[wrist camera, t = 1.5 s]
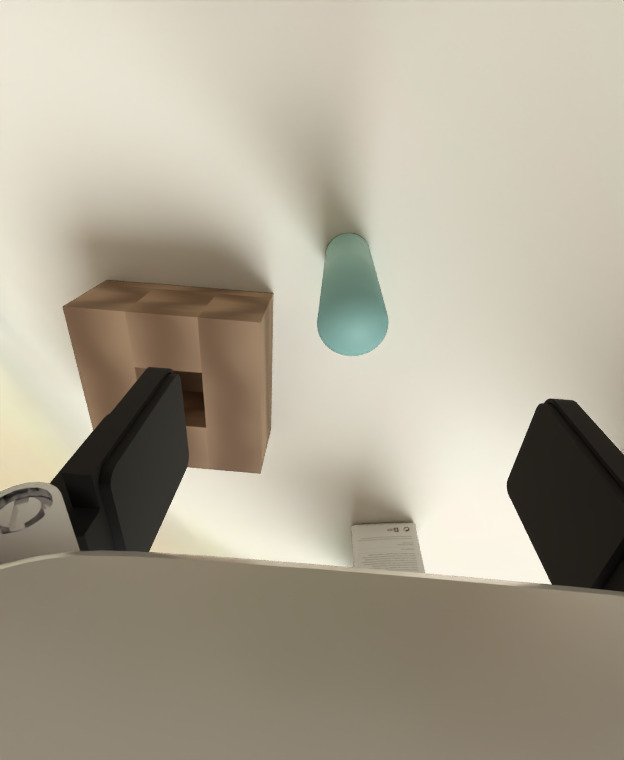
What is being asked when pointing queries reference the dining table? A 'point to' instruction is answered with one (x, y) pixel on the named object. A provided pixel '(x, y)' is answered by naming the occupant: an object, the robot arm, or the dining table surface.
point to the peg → (351, 298)
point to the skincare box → (387, 547)
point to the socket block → (183, 360)
